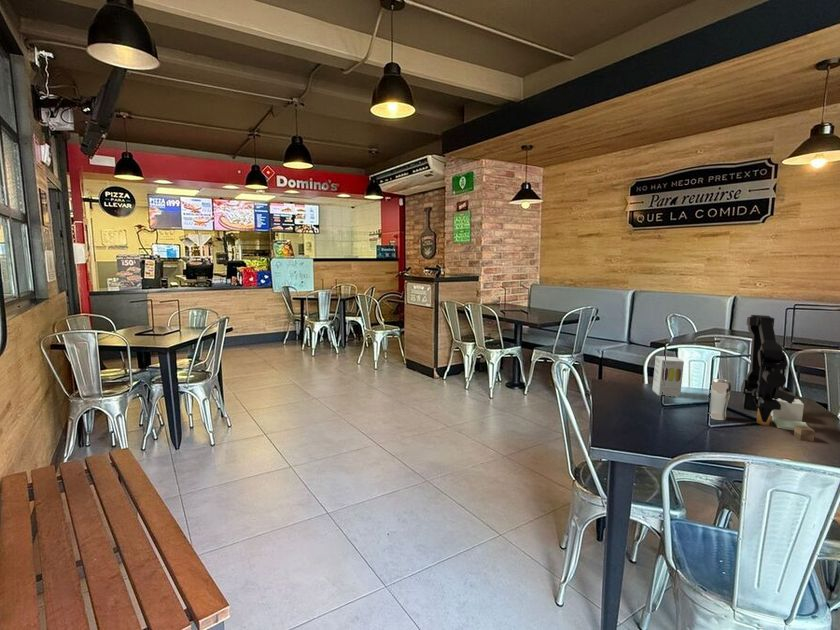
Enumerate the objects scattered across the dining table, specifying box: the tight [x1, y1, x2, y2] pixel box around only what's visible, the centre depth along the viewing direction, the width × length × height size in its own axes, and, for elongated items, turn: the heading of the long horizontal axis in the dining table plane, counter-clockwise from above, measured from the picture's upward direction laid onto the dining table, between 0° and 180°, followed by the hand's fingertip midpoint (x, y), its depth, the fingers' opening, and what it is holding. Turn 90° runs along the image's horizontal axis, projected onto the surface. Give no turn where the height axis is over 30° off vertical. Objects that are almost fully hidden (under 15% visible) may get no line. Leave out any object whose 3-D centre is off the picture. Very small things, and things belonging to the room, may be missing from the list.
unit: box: [770, 398, 805, 422], centre depth 181 cm, size 9×7×7 cm
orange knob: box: [756, 409, 772, 426], centre depth 174 cm, size 4×4×6 cm
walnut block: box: [793, 425, 816, 443], centre depth 160 cm, size 4×4×4 cm
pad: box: [771, 417, 810, 431], centre depth 172 cm, size 10×10×1 cm
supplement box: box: [652, 355, 685, 398], centre depth 209 cm, size 10×9×17 cm
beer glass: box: [708, 378, 732, 421], centre depth 179 cm, size 7×7×15 cm
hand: (763, 420), depth 175 cm, fingers closed on orange knob, 4 cm apart
